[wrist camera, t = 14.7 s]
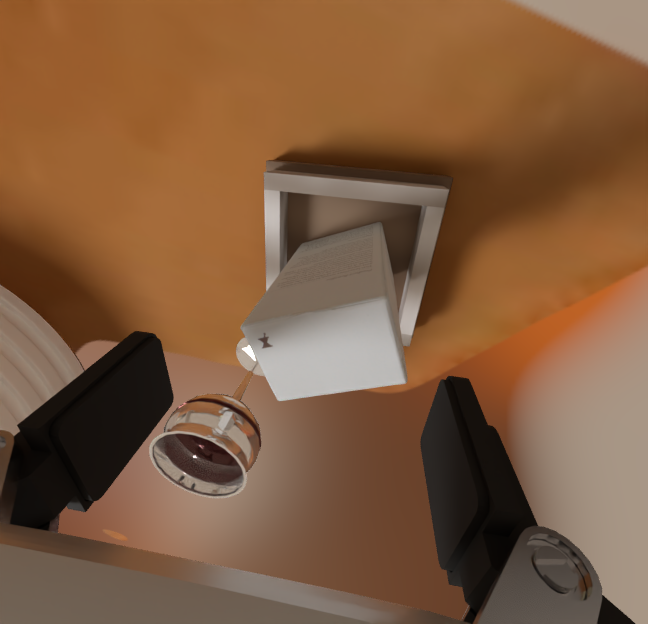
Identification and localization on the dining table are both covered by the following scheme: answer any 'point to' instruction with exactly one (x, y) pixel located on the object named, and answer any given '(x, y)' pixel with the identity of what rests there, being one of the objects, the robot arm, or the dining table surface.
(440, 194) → the square tray
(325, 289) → the skincare box
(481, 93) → the dining table surface
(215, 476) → the wineglass
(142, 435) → the robot arm
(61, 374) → the plate stack
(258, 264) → the dining table surface
